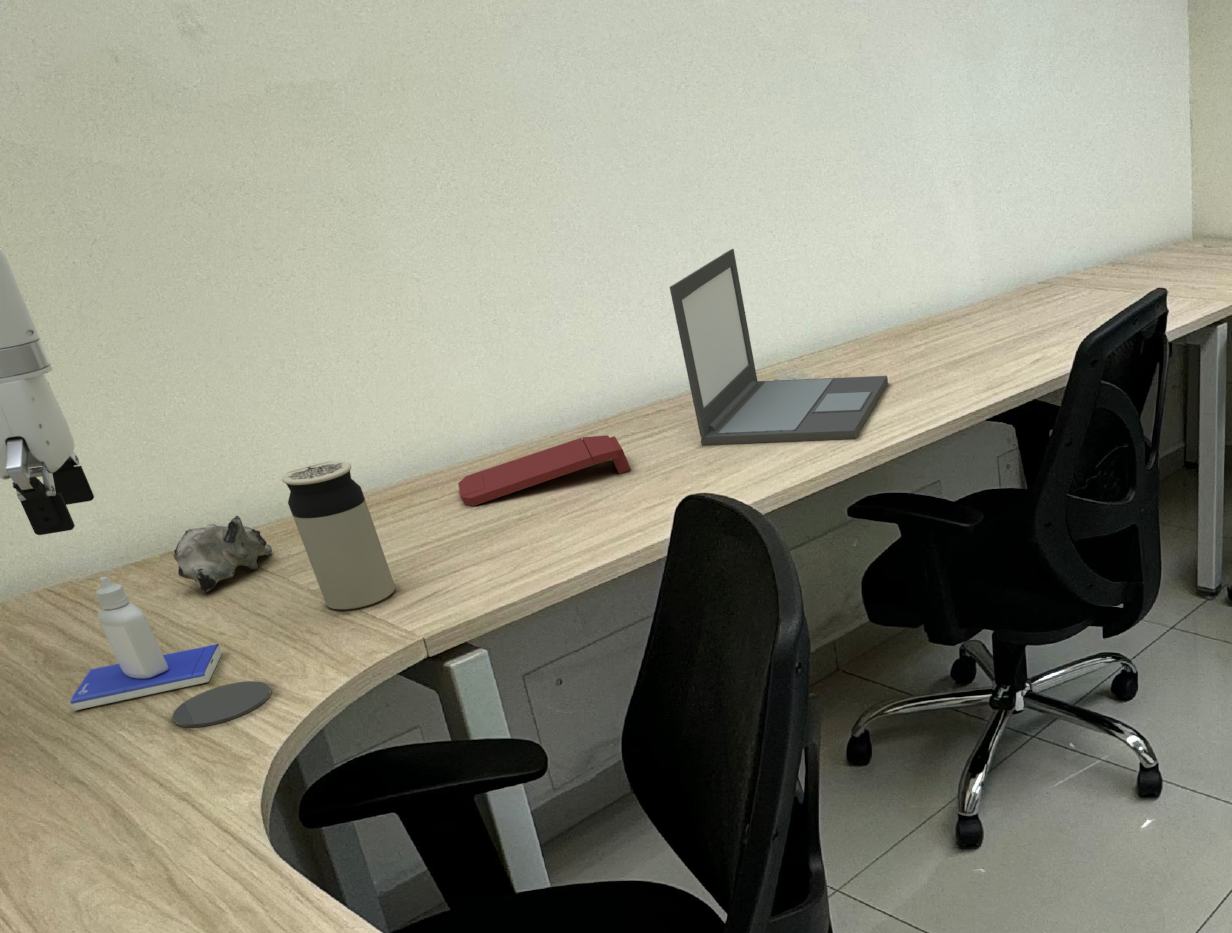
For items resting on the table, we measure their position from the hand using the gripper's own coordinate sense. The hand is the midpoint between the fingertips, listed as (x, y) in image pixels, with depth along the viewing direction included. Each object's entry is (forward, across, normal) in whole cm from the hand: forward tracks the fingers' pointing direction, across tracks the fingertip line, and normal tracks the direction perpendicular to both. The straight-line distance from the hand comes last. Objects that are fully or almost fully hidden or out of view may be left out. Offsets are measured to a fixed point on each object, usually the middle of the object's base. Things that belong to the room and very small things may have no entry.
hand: (66, 516), depth 124 cm
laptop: (+19, -57, +94) cm, 111 cm away
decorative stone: (+21, -32, +6) cm, 38 cm away
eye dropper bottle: (+20, 0, +1) cm, 20 cm away
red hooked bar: (+20, -46, +48) cm, 69 cm away
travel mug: (+21, -12, +22) cm, 32 cm away
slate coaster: (+21, +12, +9) cm, 25 cm away
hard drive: (+21, 0, +1) cm, 21 cm away
